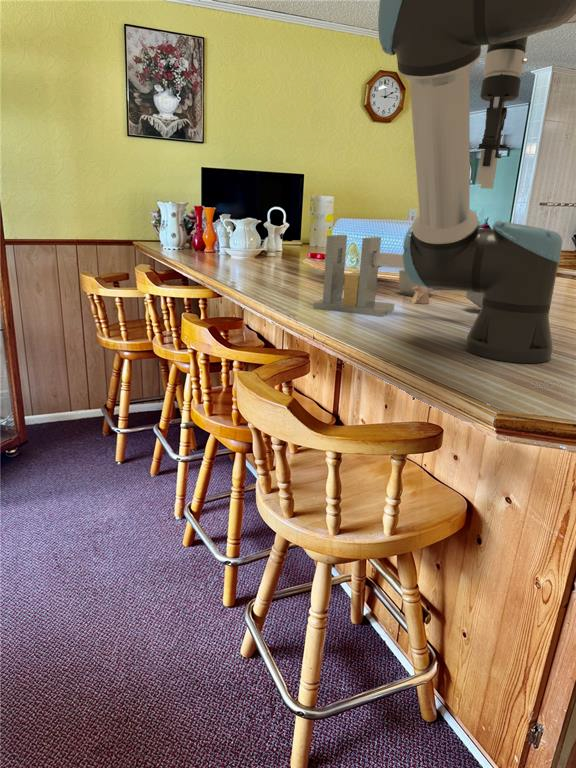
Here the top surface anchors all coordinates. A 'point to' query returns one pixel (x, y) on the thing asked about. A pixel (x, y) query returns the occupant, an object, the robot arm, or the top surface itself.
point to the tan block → (351, 289)
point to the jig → (366, 279)
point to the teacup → (407, 284)
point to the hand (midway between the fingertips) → (485, 186)
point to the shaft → (387, 260)
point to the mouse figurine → (420, 295)
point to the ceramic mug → (475, 298)
